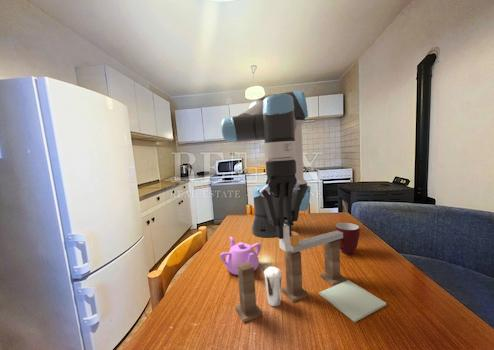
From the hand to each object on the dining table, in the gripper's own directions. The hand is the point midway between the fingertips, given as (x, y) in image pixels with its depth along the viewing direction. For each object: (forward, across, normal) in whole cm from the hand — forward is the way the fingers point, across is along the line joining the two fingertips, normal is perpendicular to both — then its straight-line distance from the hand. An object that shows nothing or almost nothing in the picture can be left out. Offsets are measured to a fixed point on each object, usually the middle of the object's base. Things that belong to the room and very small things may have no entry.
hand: (284, 249), depth 57 cm
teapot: (+14, -4, +20) cm, 25 cm away
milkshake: (+14, -4, 0) cm, 14 cm away
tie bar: (+1, +11, 0) cm, 11 cm away
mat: (+13, +14, -9) cm, 21 cm away
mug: (+14, +32, +9) cm, 36 cm away
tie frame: (+13, +2, 0) cm, 14 cm away
